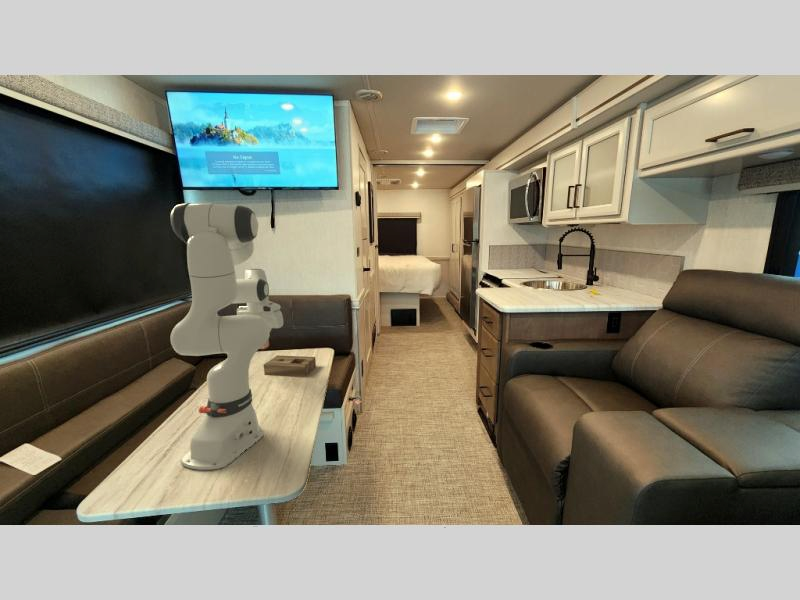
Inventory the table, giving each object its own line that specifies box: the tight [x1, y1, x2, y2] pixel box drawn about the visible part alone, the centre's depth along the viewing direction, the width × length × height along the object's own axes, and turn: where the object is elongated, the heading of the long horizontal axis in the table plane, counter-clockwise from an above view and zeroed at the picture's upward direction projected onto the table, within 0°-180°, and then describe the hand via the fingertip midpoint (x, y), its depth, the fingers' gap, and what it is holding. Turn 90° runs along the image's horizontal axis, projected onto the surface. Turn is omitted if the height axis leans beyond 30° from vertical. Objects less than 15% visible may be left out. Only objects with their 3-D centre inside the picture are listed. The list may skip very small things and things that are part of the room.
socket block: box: [263, 354, 317, 378], centre depth 148 cm, size 12×20×5 cm, turn 82°
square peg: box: [259, 338, 270, 350], centre depth 136 cm, size 4×4×10 cm
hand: (261, 337), depth 136 cm, fingers closed on square peg, 4 cm apart
